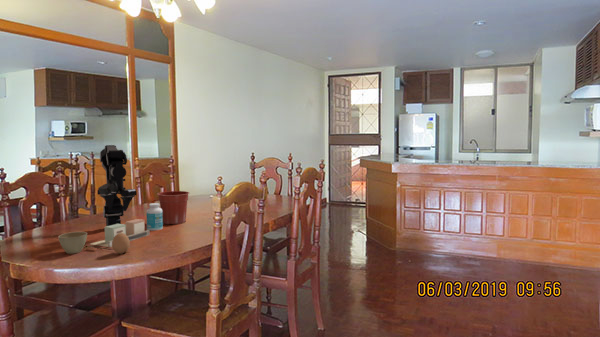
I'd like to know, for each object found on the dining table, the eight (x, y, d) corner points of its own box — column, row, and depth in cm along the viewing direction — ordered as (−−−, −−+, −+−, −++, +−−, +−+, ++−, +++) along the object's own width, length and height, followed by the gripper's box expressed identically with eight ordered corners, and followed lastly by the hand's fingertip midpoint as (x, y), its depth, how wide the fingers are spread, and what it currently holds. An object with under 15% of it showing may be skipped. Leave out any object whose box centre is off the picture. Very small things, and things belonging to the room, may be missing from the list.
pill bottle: (157, 233, 192) (156, 205, 191) (143, 232, 193) (142, 204, 192) (165, 229, 199) (165, 202, 198) (152, 229, 200) (151, 202, 199)
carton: (125, 237, 179) (125, 221, 178) (137, 233, 185) (137, 219, 185) (133, 238, 177) (133, 222, 177) (145, 234, 184) (144, 219, 183)
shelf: (89, 246, 168) (88, 238, 167) (129, 235, 188) (129, 227, 188) (110, 249, 163) (110, 241, 163) (150, 237, 183) (149, 230, 183)
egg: (132, 251, 161) (132, 231, 161) (126, 255, 155) (125, 235, 154) (116, 251, 161) (115, 231, 161) (109, 255, 155) (108, 235, 154)
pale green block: (105, 243, 169) (104, 226, 168) (118, 239, 175) (117, 223, 175) (113, 244, 167) (112, 227, 166) (126, 240, 173) (126, 224, 173)
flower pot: (184, 225, 208) (183, 195, 207) (153, 225, 208) (152, 195, 207) (193, 219, 224) (193, 191, 223) (164, 219, 225) (163, 190, 224)
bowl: (66, 249, 164) (66, 231, 164) (92, 248, 165) (91, 231, 165) (54, 256, 154) (53, 237, 154) (80, 255, 155) (80, 237, 155)
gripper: (86, 177, 181) (87, 211, 182) (117, 179, 173) (118, 214, 175) (107, 175, 191) (108, 207, 192) (136, 177, 184) (137, 210, 185)
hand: (117, 210), depth 186 cm, fingers open, 9 cm apart
